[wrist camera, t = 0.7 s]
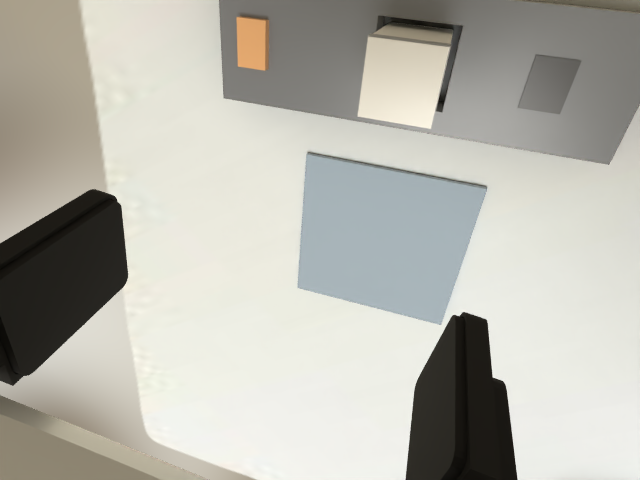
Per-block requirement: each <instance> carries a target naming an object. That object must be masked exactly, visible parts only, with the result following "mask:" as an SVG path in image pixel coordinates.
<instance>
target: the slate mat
mask: <svg viewBox="0 0 640 480" xmlns="http://www.w3.org/2000/svg"><path fill="white" fill-rule="evenodd" d="M486 191H487V187H484V186H479V185H474V184H469V183H463V182H458V181H453V180H448V179H443V178H437V177H432V176H427V175H422V174H417V173H411V172H406V171H401V170H396V169H391V168H385V167H380V166H375V165H370V164H364V163H359V162H354V161H349V160H344V159H338V158H333V157H328V156H323V155H318V154H312V153H307V156H306V171H305V186H304V200H303V215H302V230H301V245H300V260H299V274H298V288H300V289H304V290H308V291H312V292H316V293H319V294H323V295H327V296H331V297H335V298H339V299H343V300H347V301H350V302H354V303H358V304H362V305H366V306H370V307H374V308H377V309H381V310H385V311H389V312H393V313H397V314H401V315H405V316H408V317H412V318H416V319H420V320H424V321H428V322H432V323H436V324H439V325H441V323H442V320H443V317H444V314H445V311H446V309H447V306H448V303H449V300H450V297H451V294H452V291H453V288H454V285H455V282H456V279H457V276H458V273H459V270H460V267H461V264H462V261H463V259H464V256H465V253H466V250H467V247H468V244H469V241H470V238H471V235H472V232H473V229H474V226H475V223H476V220H477V217H478V214H479V212H480V209H481V206H482V203H483V200H484V197H485V194H486Z"/></svg>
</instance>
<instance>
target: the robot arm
mask: <svg viewBox="0 0 640 480" xmlns="http://www.w3.org/2000/svg"><path fill="white" fill-rule="evenodd" d="M127 279H128V269H127V259H126V249H125V239H124V229H123V219H122V209H121V205H120V203H118V202H117V199H116V197H115V196H113V195H111V194H108V193H105V192H102V191H98V190H96V189H95V190H94V189H92V190H89V191H87V192H86V193H84V194H82V195H81V196H79V197H78V198H76V199H74V200H72V201H71V202H69V203H67V204H66V205H64V206H63V207H61V208H59V209H57V210H56V211H54V212H52V213H51V214H49V215H47V216H45V217H44V218H42V219H40V220H39V221H37V222H35V223H34V224H32V225H30V226H29V227H27V228H26V229H24V230H22V231H20V232H19V233H17V234H15V235H14V236H12V237H10V238H9V239H7V240H5V241H4V242H2V243H0V381H3V382H5V383H8V384H10V385H12V386H13V385H14V384H15V383H17V381H19V379H21V378H22V377H23V376H27V375H30V374H31V373H33V372H34V371H35V370H36V369H37V368H38V367H39V366H41V365H42V364H43V363H44V362H45V361H46V360H47V359H48V358H49V357H50V356H51V355H52V354H53V353H54V352H55V351H56V350H57V349H58V348H60V347H61V346H62V344H64V343H65V342H66V341H67V340H68V339H69V338H70V337H71V336H72V335H73V334H74V333H75V332H76V331H77V330H78V329H79V328H81V327H82V326H83V325H84V324H85V323H86V322H87V321H88V320H89V319H90V318H91V317H92V316H93V315H94V314H95V313H96V312H97V311H98V310H99V309H101V308H102V307H103V306H104V305H105V304H106V303H107V302H108V301H109V300H110V299H111V298H112V297H113V296H114V295H115V294H116V293H117V292H119V291H120V290H121V289H122V288H123V287H124V285H125V284H126V282H127ZM0 480H208V479H206V478H203V477H201V476H198V475H196V474H194V473H191V472H188V471H186V470H184V469H181V468H179V467H176V466H174V465H172V464H169V463H167V462H164V461H161V460H159V459H157V458H154V457H152V456H149V455H147V454H144V453H142V452H140V451H137V450H135V449H132V448H130V447H127V446H125V445H122V444H119V443H117V442H115V441H112V440H110V439H107V438H105V437H102V436H100V435H98V434H95V433H92V432H90V431H88V430H85V429H83V428H80V427H78V426H75V425H73V424H70V423H68V422H65V421H63V420H60V419H58V418H55V417H52V416H50V415H48V414H45V413H43V412H40V411H38V410H35V409H33V408H30V407H28V406H25V405H23V404H20V403H17V402H15V401H13V400H10V399H8V398H5V397H3V396H0ZM406 480H517V472H516V464H515V456H514V447H513V439H512V431H511V422H510V414H509V406H508V398H507V390H506V386H505V384H504V382H503V381H501V380H498V379H495V378H492V367H491V356H490V345H489V333H488V323H487V320H486V319H483V318H480V317H477V316H474V315H471V314H468V313H465V312H463V313H462V314H461V315H460V317H459V316H456V315H453V316H452V317H451V319H450V321H449V323H448V324H447V326H446V328H445V330H444V332H443V334H442V335H441V337H440V339H439V341H438V343H437V345H436V346H435V348H434V350H433V352H432V354H431V356H430V358H429V359H428V361H427V363H426V365H425V367H424V369H423V370H422V372H421V374H420V376H419V378H418V380H417V383H416V386H415V391H414V401H413V411H412V421H411V431H410V441H409V451H408V461H407V471H406Z"/></svg>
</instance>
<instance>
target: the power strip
mask: <svg viewBox="0 0 640 480" xmlns="http://www.w3.org/2000/svg"><path fill="white" fill-rule="evenodd" d="M219 8H220V30H221V51H222V73H223V94H224V98H226V99H232V100H237V101H243V102H249V103H255V104H261V105H266V106H272V107H278V108H284V109H289V110H295V111H301V112H307V113H313V114H318V115H324V116H330V117H336V118H342V119H347V120H353V121H359V122H365V123H371V124H376V125H382V126H388V127H394V128H400V129H405V130H411V131H417V132H423V133H429V134H434V135H440V136H446V137H452V138H457V139H463V140H469V141H475V142H481V143H486V144H492V145H498V146H504V147H510V148H515V149H521V150H527V151H533V152H539V153H544V154H550V155H556V156H562V157H568V158H573V159H579V160H585V161H591V162H597V163H602V164H608V165H609V164H610V162H611V160H612V158H613V156H614V154H615V152H616V150H617V148H618V146H619V144H620V142H621V140H622V138H623V136H624V134H625V132H626V130H627V128H628V126H629V124H630V122H631V120H632V118H633V116H634V114H635V112H636V110H637V108H638V106H639V104H640V12H633V11H624V10H614V9H605V8H596V7H586V6H577V5H568V4H558V3H549V2H540V1H530V0H219ZM384 16H387V17H395V18H403V19H412V20H420V21H428V22H436V23H445V24H453V25H461V26H462V31H461V35H460V39H459V43H458V47H457V51H456V55H455V59H454V63H453V67H452V72H451V76H450V80H449V84H448V88H447V92H446V96H445V100H444V103H443V102H438V104H437V108H436V113H435V117H434V121H433V125H432V129H426V128H420V127H415V126H409V125H403V124H397V123H391V122H385V121H379V120H373V119H368V118H362V117H357V113H358V105H359V97H360V90H361V82H362V75H363V67H364V60H365V52H366V44H367V37H368V35H369V34H370V33H372V34H373V33H375V32H376V31H378V30H379V29H381V28H382V27H383V21H384Z"/></svg>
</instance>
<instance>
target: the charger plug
mask: <svg viewBox="0 0 640 480" xmlns="http://www.w3.org/2000/svg"><path fill="white" fill-rule="evenodd" d="M452 34H453V30H452V29H444V28H436V27H428V26H420V25H412V24H404V23H396V22H390V23H389V24H387V25H386V26H384V27H382V28H381V29H379V30H378V31H376V32H375V33H373V34H372V33H370V34H369V35H368V37H367V44H366V52H365V60H364V67H363V75H362V82H361V90H360V97H359V105H358V113H357V117H362V118H368V119H373V120H379V121H385V122H391V123H397V124H403V125H409V126H415V127H420V128H426V129H432V125H433V121H434V117H435V113H436V108H437V104H438V100H439V96H440V91H441V87H442V83H443V79H444V74H445V70H446V66H447V62H448V58H449V53H450V49H451V45H452V44H451V39H452Z"/></svg>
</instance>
